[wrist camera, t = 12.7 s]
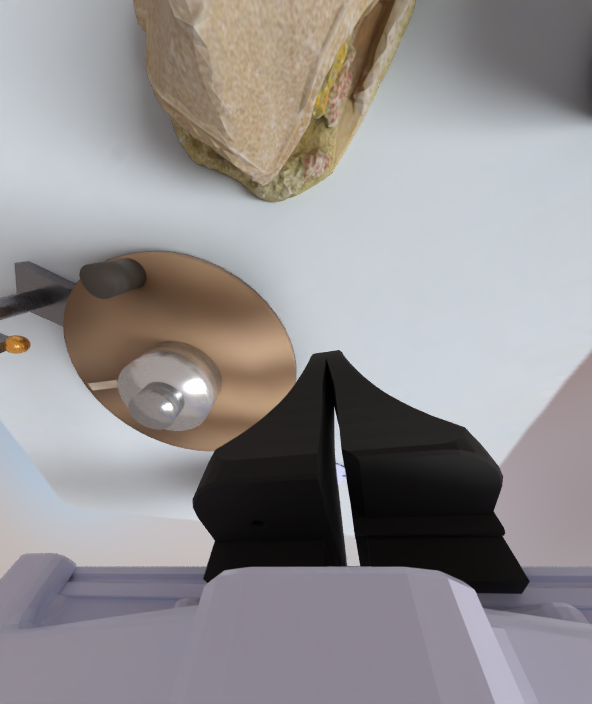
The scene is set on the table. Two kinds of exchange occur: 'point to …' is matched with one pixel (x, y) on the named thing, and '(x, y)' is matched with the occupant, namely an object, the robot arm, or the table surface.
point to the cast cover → (170, 386)
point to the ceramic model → (269, 81)
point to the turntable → (179, 337)
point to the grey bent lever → (34, 301)
